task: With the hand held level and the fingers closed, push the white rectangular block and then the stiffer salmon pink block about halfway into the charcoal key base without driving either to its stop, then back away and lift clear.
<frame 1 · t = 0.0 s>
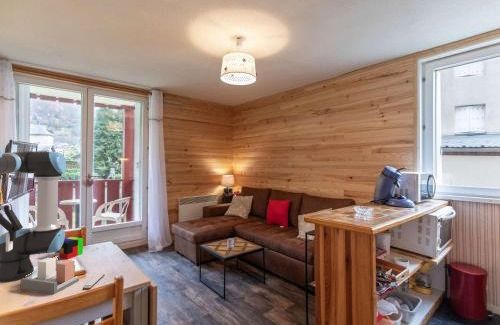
salmon pink block: (65, 271, 123), point 6 cm above the table, slide at 0.0 cm
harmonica: (94, 283, 126), on the table
puzzle toy: (69, 256, 159), on the table
key base: (55, 282, 124), on the table
white rectangular block: (47, 268, 125), point 6 cm above the table, slide at 0.0 cm
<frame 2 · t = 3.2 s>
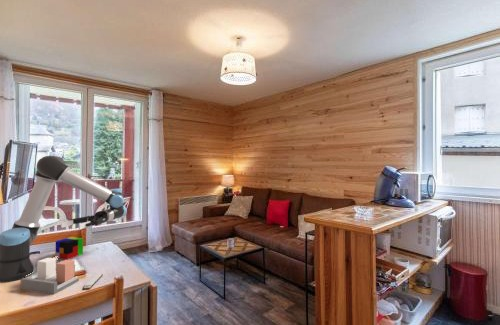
hand: (70, 226, 137), 25 cm above the table, tool horizontal, fingers open, 13 cm apart
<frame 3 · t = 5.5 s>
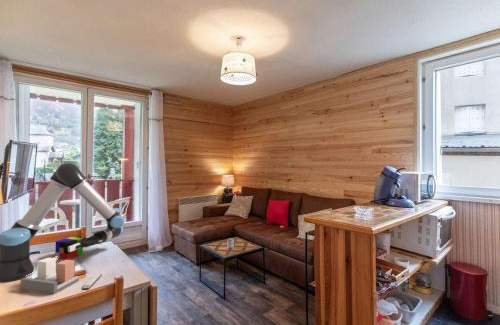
hand: (69, 249, 137), 12 cm above the table, tool horizontal, fingers closed
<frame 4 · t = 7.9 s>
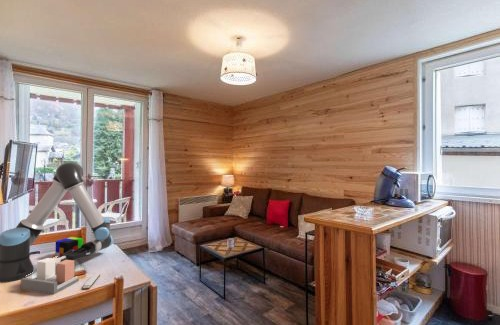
hand: (53, 263, 128), 8 cm above the table, tool horizontal, fingers closed
white rectangular block: (46, 268, 125), point 6 cm above the table, slide at 0.3 cm, touching gripper
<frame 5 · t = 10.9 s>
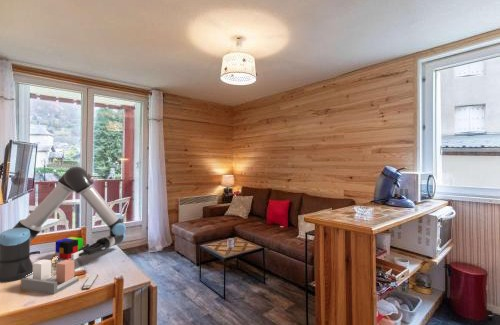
hand: (72, 257, 136), 8 cm above the table, tool horizontal, fingers closed
white rectangular block: (42, 270, 123), point 6 cm above the table, slide at 2.3 cm
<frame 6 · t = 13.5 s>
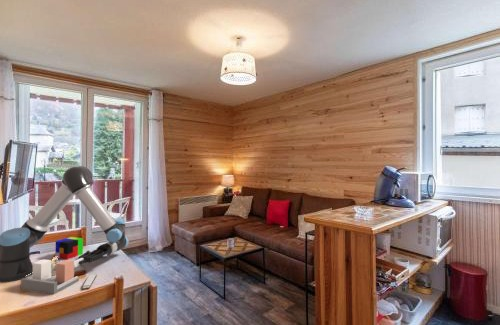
hand: (71, 265, 126), 8 cm above the table, tool horizontal, fingers closed
salmon pink block: (65, 271, 123), point 6 cm above the table, slide at 0.2 cm, touching gripper
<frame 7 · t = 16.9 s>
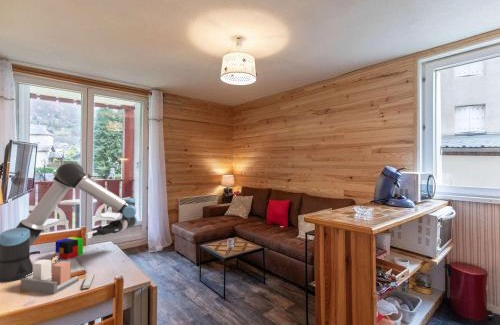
hand: (86, 236, 134), 20 cm above the table, tool horizontal, fingers closed
salmon pink block: (61, 273, 121), point 6 cm above the table, slide at 2.3 cm
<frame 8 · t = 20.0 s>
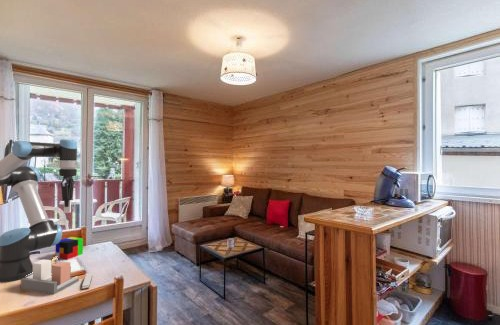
hand: (67, 212, 135), 32 cm above the table, tool pointing down, fingers closed
at the end: white rectangular block slide at 2.3 cm; salmon pink block slide at 2.3 cm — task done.
